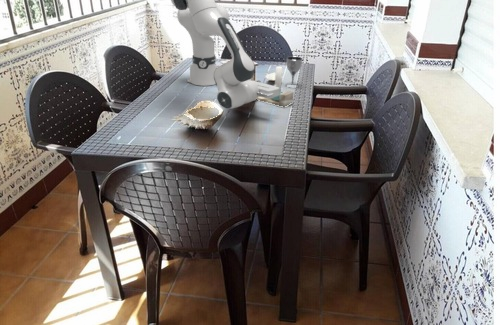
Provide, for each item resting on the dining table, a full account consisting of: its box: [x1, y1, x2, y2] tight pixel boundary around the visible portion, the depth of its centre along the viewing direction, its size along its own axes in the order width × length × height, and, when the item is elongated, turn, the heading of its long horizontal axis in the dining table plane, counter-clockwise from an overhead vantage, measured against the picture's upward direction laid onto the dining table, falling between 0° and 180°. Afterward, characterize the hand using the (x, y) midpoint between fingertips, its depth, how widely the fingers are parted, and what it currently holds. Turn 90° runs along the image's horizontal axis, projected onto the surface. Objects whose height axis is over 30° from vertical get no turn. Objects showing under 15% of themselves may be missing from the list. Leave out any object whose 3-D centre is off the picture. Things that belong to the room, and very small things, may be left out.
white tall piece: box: [271, 65, 285, 100], centre depth 187 cm, size 5×5×14 cm
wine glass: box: [286, 55, 303, 85], centre depth 212 cm, size 8×8×15 cm
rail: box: [256, 90, 295, 107], centre depth 192 cm, size 22×7×6 cm, turn 52°
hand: (267, 84), depth 180 cm, fingers open, 8 cm apart
